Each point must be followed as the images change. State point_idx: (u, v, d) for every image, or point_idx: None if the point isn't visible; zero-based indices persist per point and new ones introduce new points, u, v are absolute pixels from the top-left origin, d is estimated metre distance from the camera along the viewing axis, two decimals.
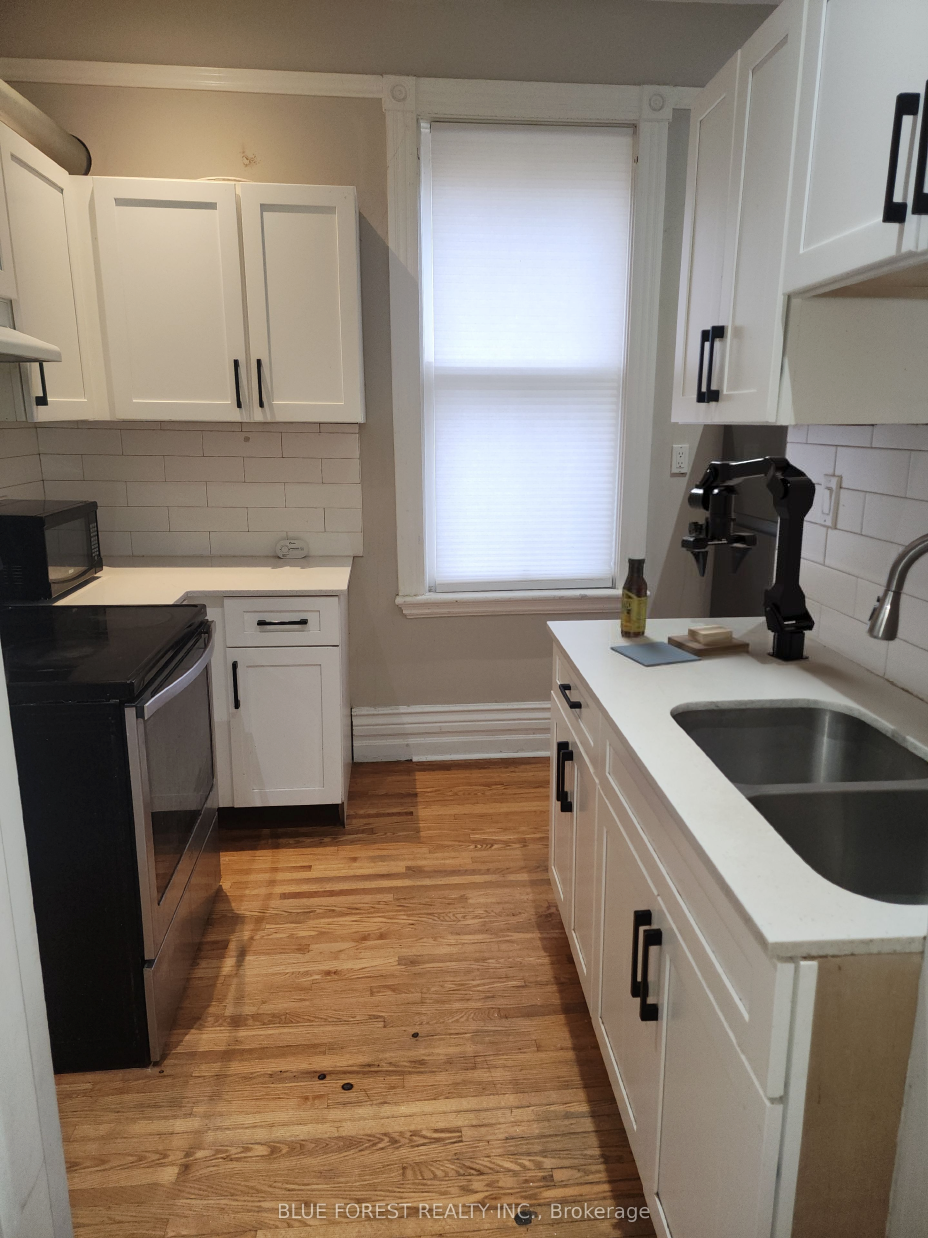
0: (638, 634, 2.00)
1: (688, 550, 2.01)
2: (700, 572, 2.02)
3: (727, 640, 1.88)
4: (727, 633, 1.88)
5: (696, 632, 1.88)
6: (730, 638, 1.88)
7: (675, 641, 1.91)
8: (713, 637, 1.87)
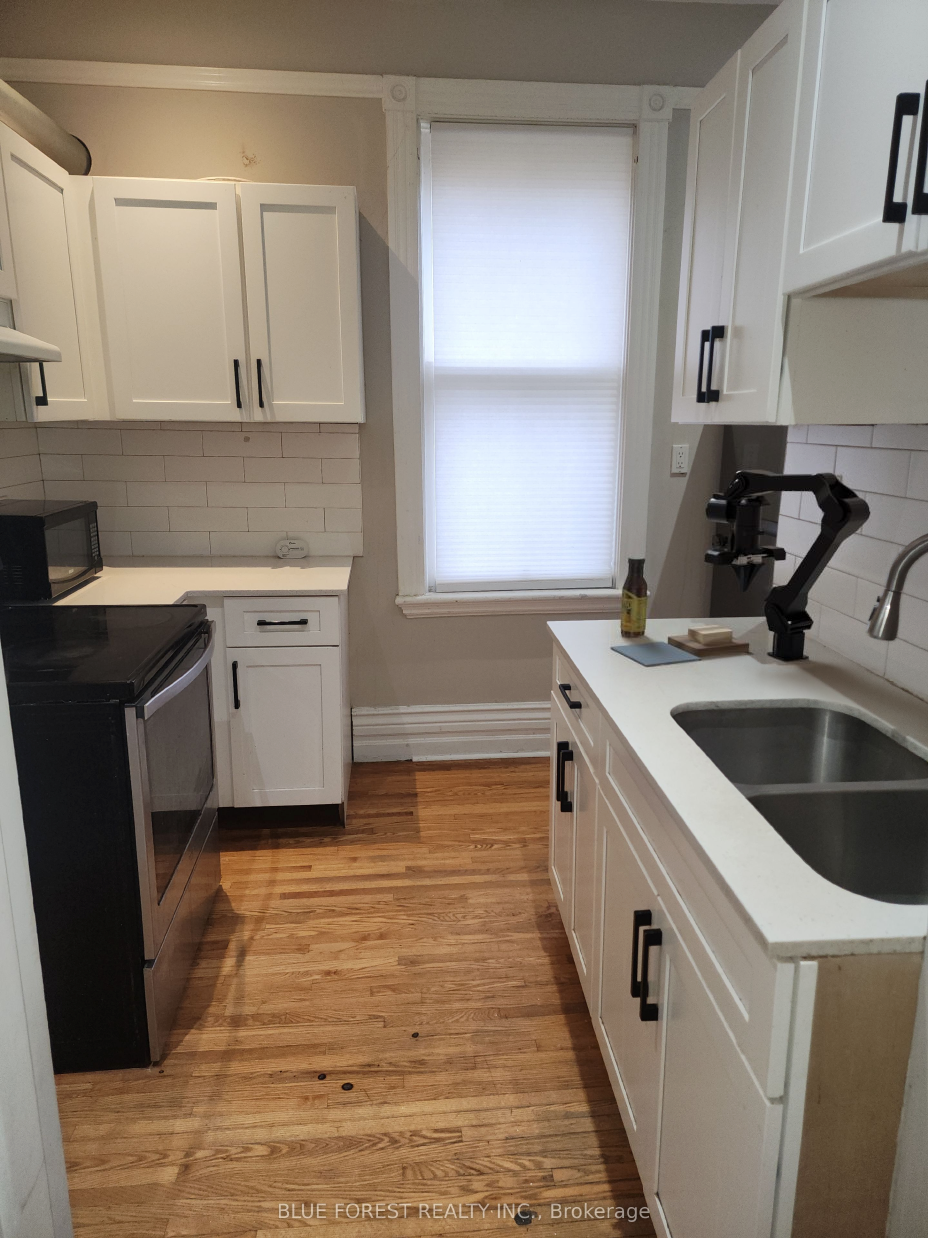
0: (638, 634, 2.00)
1: None
2: (741, 587, 1.90)
3: (727, 640, 1.88)
4: (727, 633, 1.88)
5: (696, 632, 1.88)
6: (730, 638, 1.88)
7: (675, 641, 1.91)
8: (713, 637, 1.87)
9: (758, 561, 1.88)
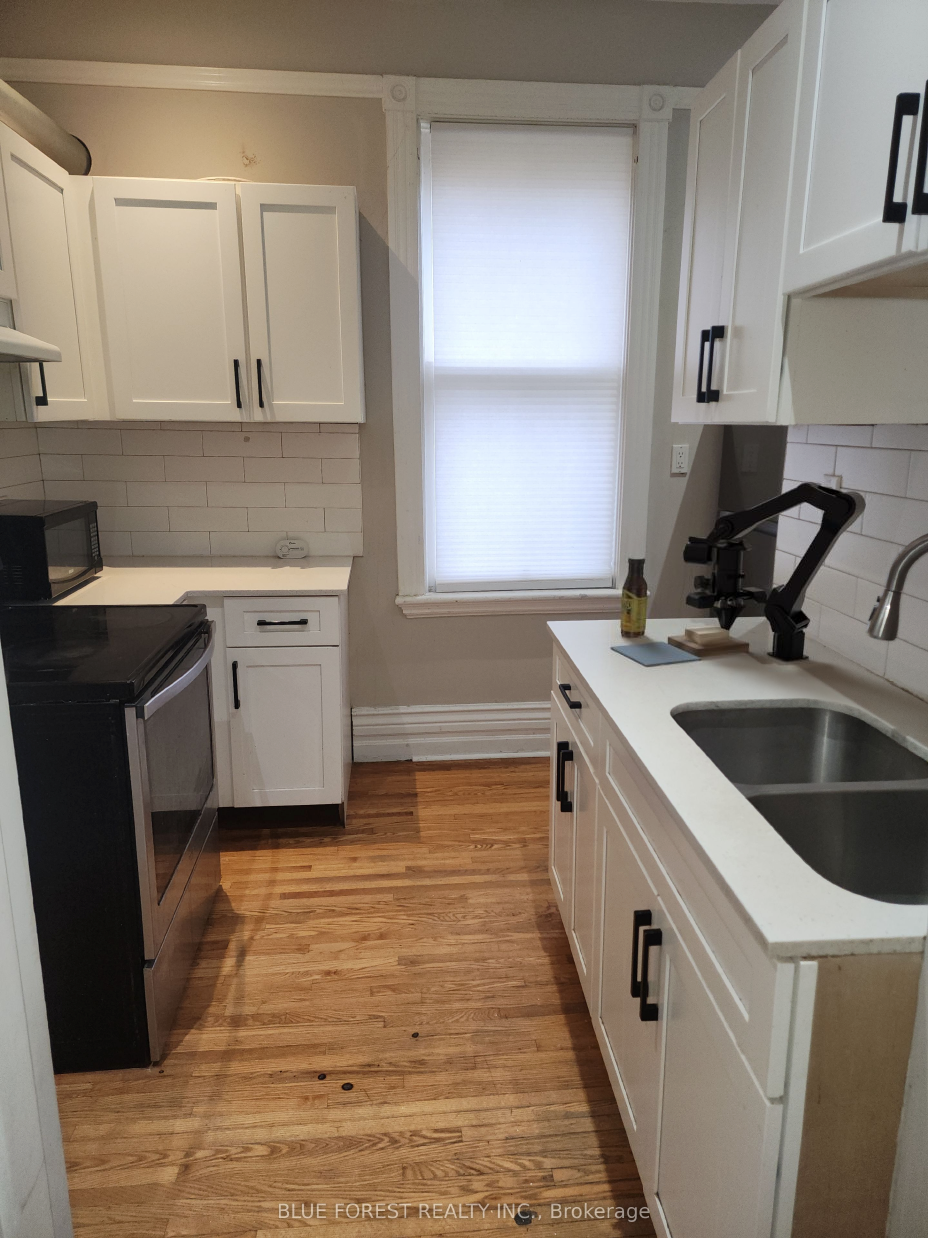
0: (638, 634, 2.00)
1: None
2: None
3: (724, 640, 1.88)
4: (724, 633, 1.88)
5: (693, 632, 1.88)
6: (727, 638, 1.88)
7: (675, 641, 1.91)
8: (709, 637, 1.86)
9: (739, 604, 1.89)
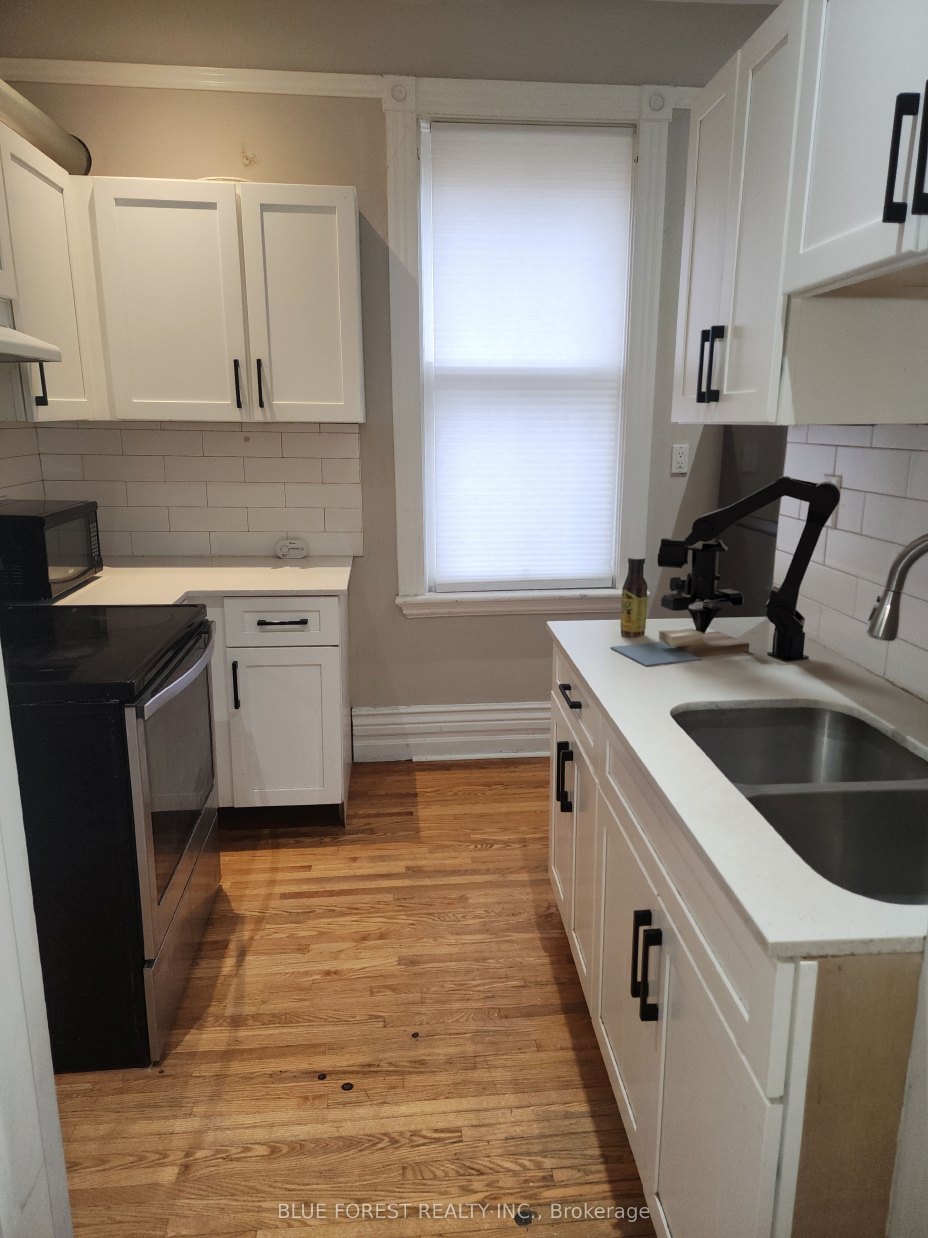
0: (638, 634, 2.00)
1: None
2: None
3: (698, 643, 1.86)
4: (698, 636, 1.86)
5: (666, 635, 1.86)
6: (701, 641, 1.86)
7: None
8: (682, 640, 1.85)
9: (715, 606, 1.87)
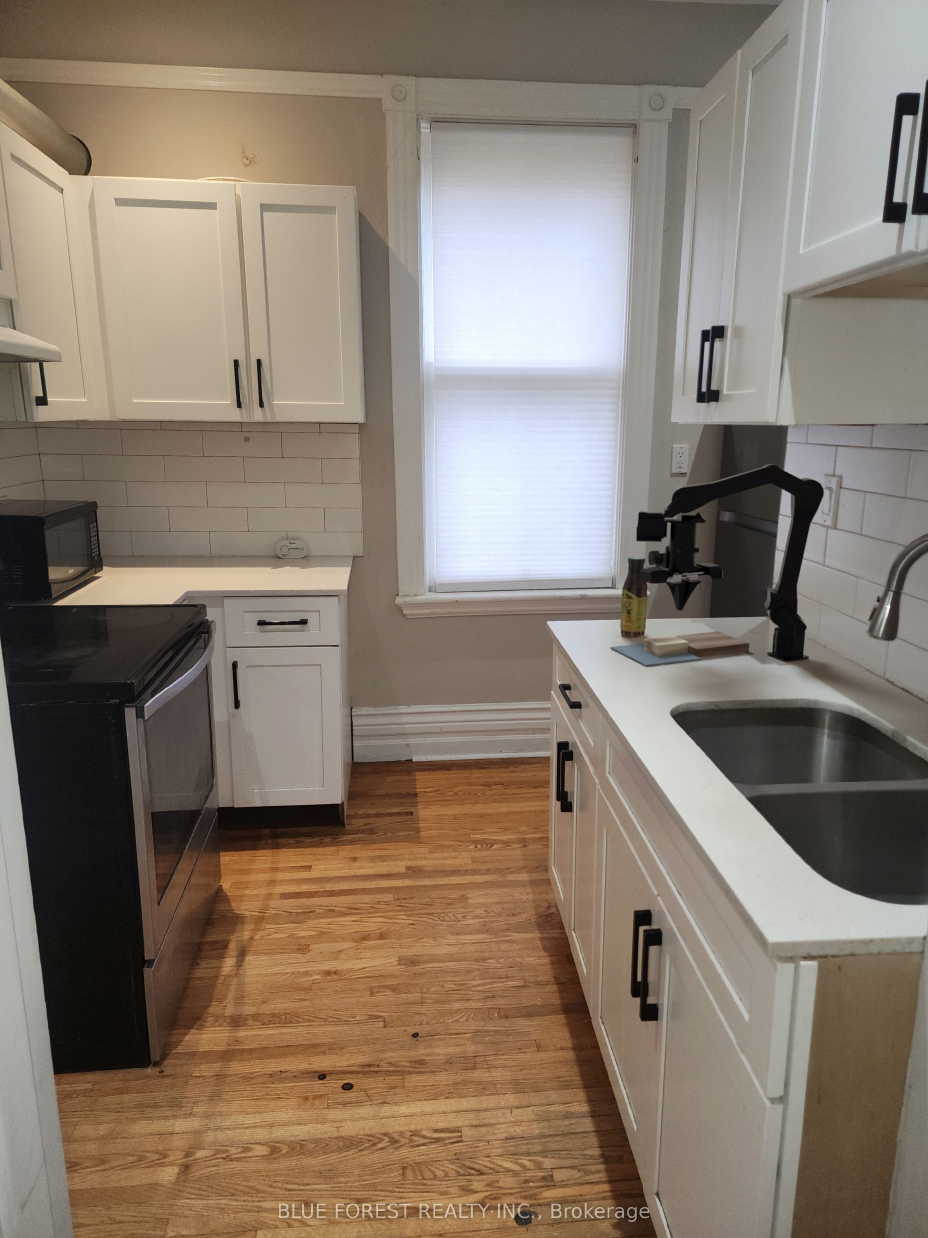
0: (638, 634, 2.00)
1: None
2: (677, 605, 1.85)
3: (683, 651, 1.85)
4: (683, 644, 1.85)
5: (651, 643, 1.85)
6: (686, 649, 1.85)
7: None
8: (668, 648, 1.84)
9: (694, 579, 1.84)
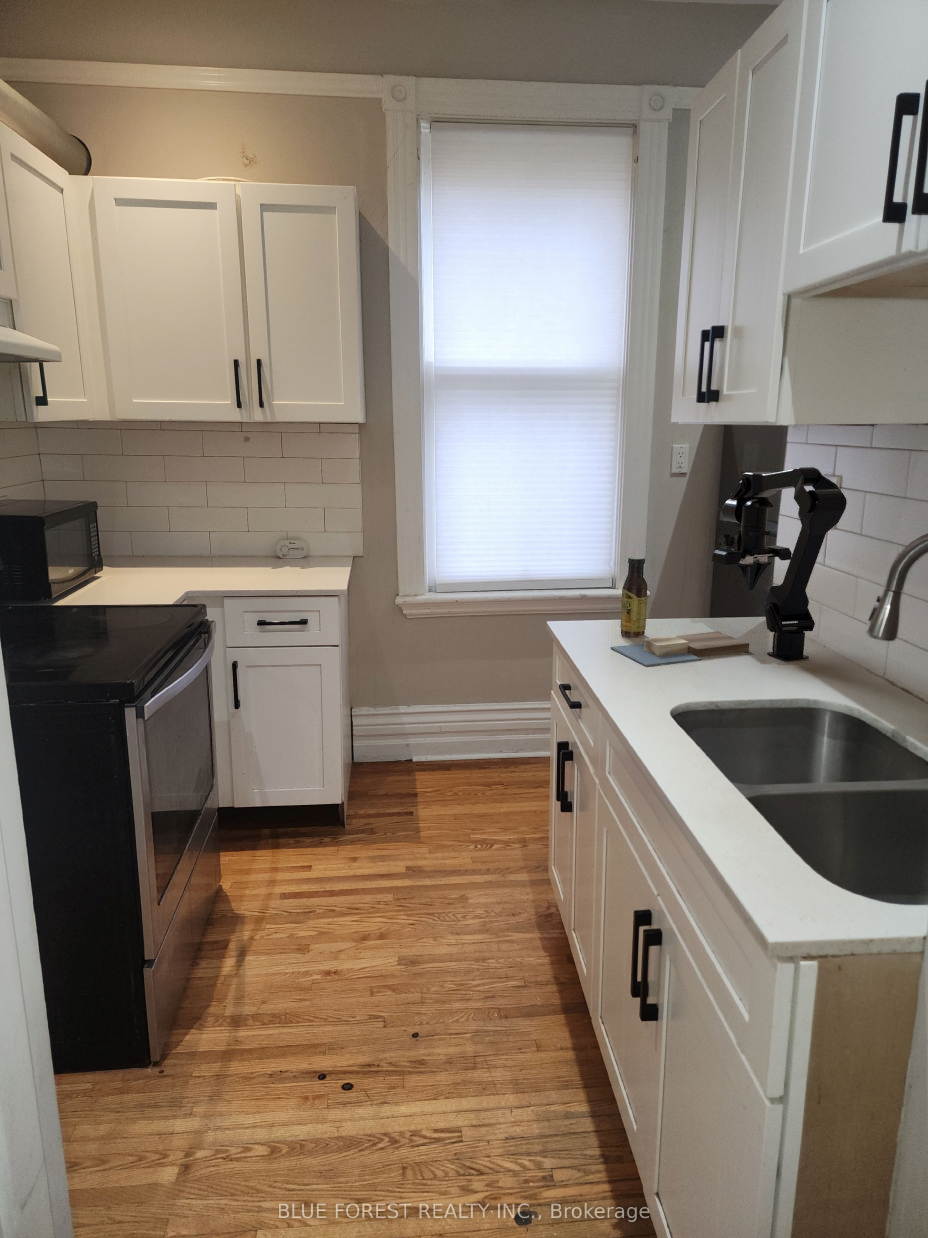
0: (638, 634, 2.00)
1: None
2: (747, 586, 1.95)
3: (683, 651, 1.85)
4: (683, 644, 1.85)
5: (651, 643, 1.85)
6: (686, 649, 1.85)
7: None
8: (668, 648, 1.84)
9: (764, 561, 1.93)
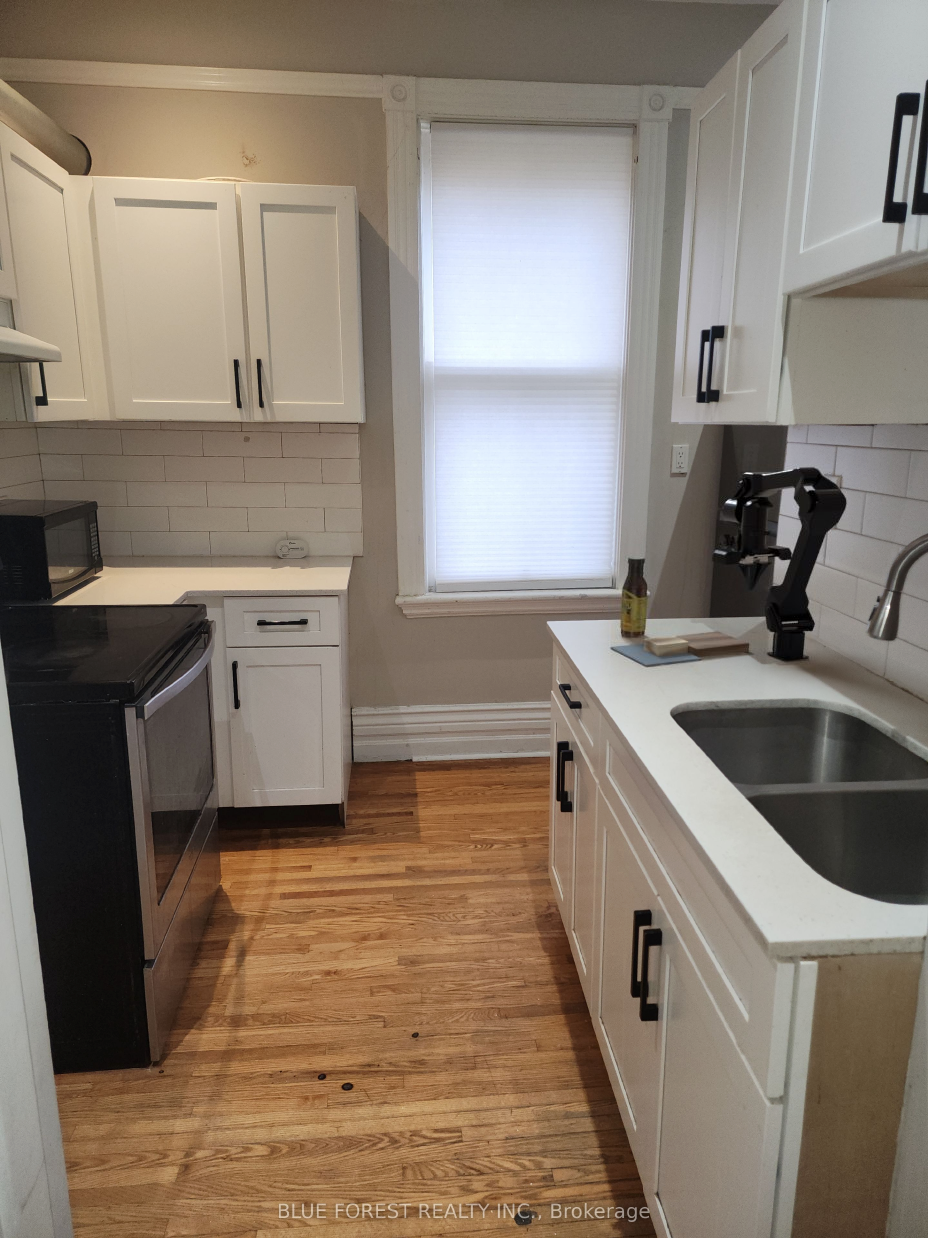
0: (638, 634, 2.00)
1: None
2: (747, 586, 1.95)
3: (683, 651, 1.85)
4: (683, 644, 1.85)
5: (651, 643, 1.85)
6: (686, 649, 1.85)
7: None
8: (668, 648, 1.84)
9: (764, 561, 1.93)
